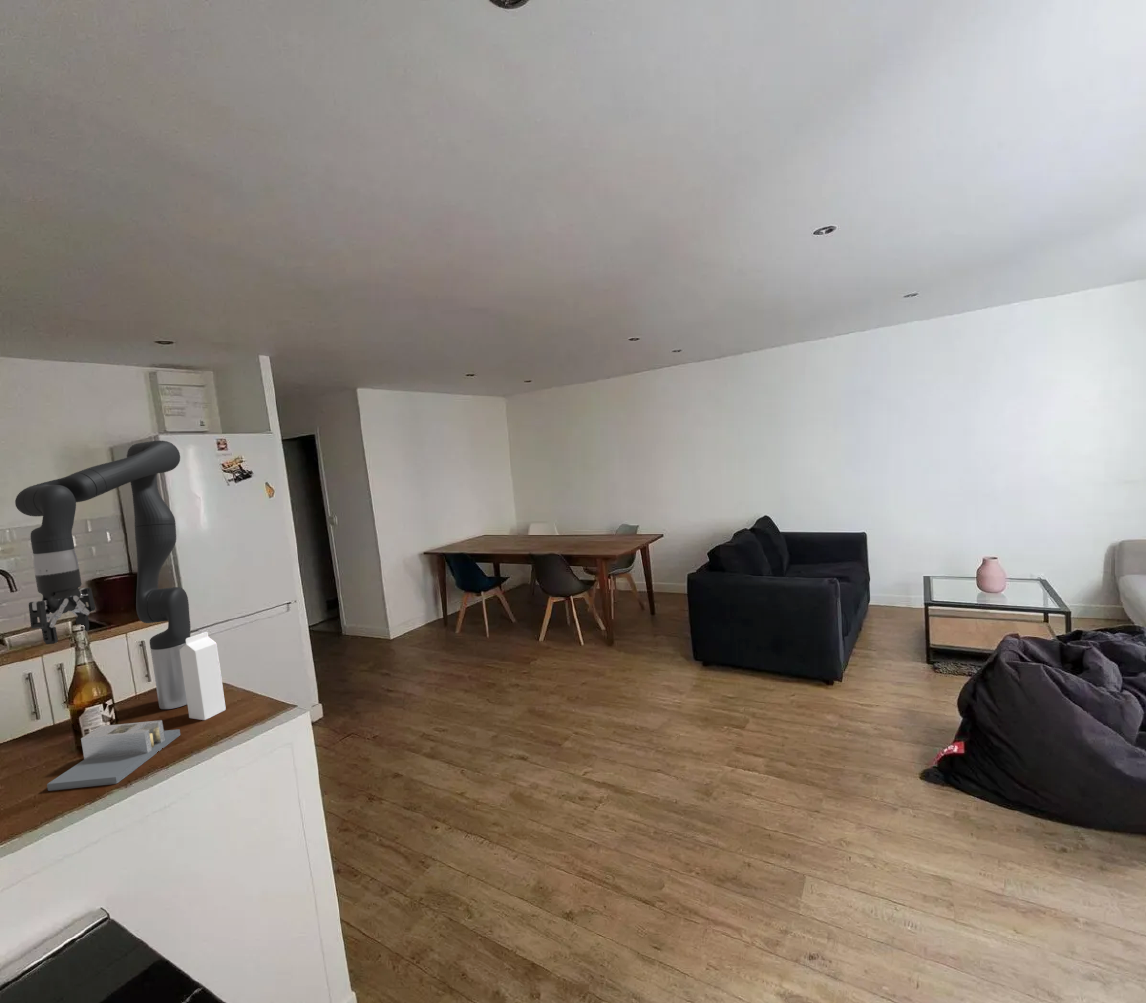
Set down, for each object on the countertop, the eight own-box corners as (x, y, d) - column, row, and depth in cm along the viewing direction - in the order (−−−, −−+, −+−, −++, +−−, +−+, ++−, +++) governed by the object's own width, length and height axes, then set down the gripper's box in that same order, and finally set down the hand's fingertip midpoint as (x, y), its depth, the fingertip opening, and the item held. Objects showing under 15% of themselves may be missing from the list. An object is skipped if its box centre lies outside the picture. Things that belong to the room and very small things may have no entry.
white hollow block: (84, 759, 122) (80, 738, 121) (104, 746, 127) (101, 726, 127) (147, 753, 123) (144, 732, 122) (165, 740, 128) (161, 720, 128)
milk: (189, 718, 143) (176, 638, 141) (211, 707, 148) (199, 630, 146) (205, 720, 140) (192, 639, 139) (226, 709, 146) (215, 631, 144)
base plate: (122, 740, 133) (119, 721, 132) (180, 735, 133) (177, 715, 133) (48, 790, 113) (44, 768, 112) (116, 783, 113) (113, 761, 113)
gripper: (45, 575, 119) (57, 646, 120) (98, 562, 133) (108, 626, 134) (10, 578, 118) (22, 649, 120) (67, 565, 132) (77, 629, 134)
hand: (68, 637), depth 127 cm, fingers open, 8 cm apart
